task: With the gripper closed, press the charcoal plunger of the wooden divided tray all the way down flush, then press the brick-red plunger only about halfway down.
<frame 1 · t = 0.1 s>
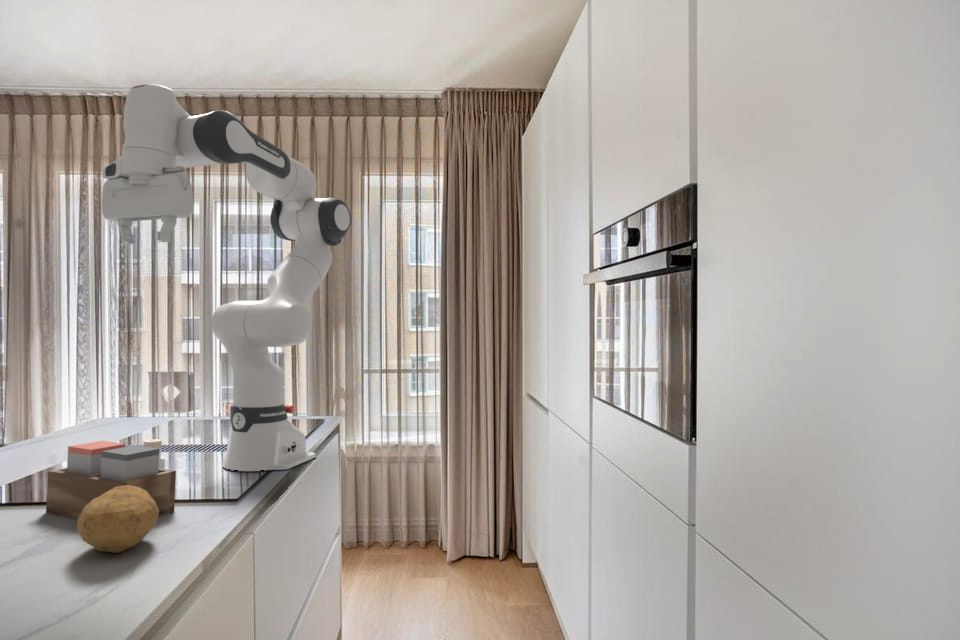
hand: (145, 242, 108), 48 cm above the counter, fingers open, 8 cm apart
red plunger: (96, 462, 100), point 8 cm above the counter, slide at 0.0 cm
potato: (117, 550, 82), on the counter
pepper shaker: (150, 490, 113), on the counter
wooden divided tray: (110, 511, 98), on the counter
charcoal plunger: (130, 467, 97), point 8 cm above the counter, slide at 0.0 cm
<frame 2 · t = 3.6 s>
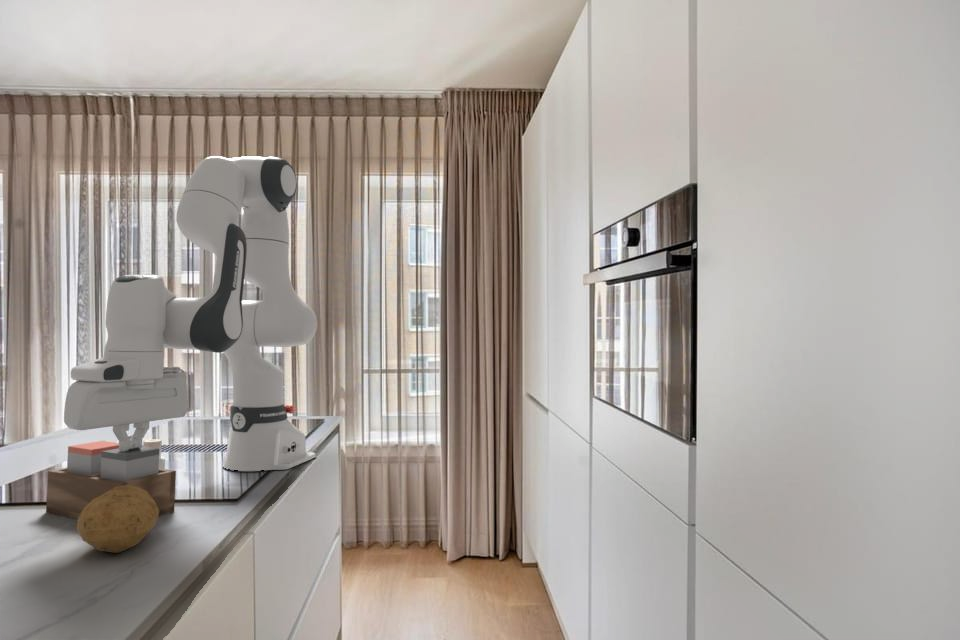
hand: (130, 449, 97), 11 cm above the counter, fingers closed, pressing on charcoal plunger
charcoal plunger: (130, 467, 97), point 8 cm above the counter, slide at 0.0 cm, touching gripper
everything else where it was.
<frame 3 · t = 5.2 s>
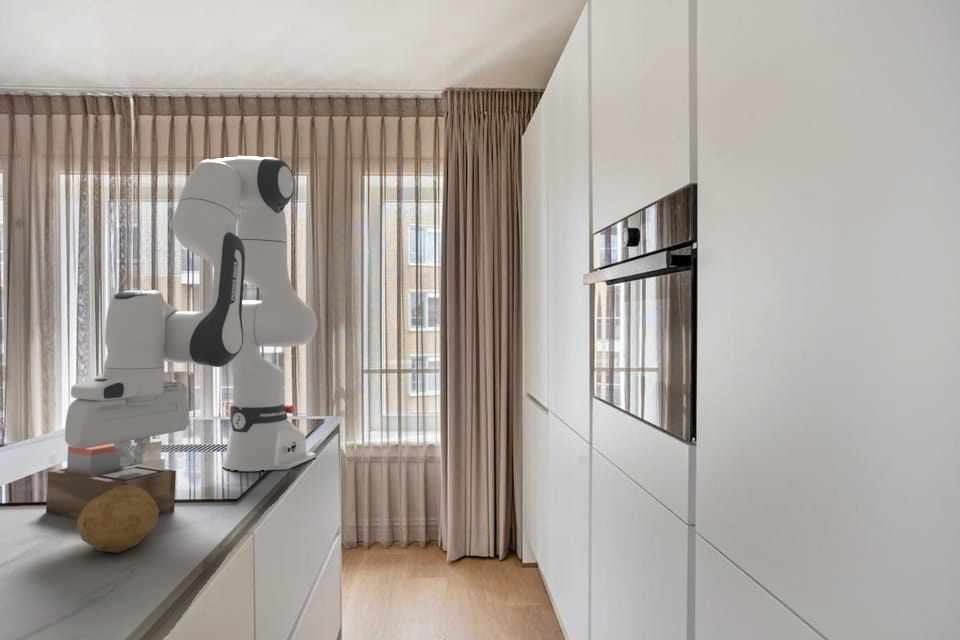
hand: (131, 465, 97), 8 cm above the counter, fingers closed
charcoal plunger: (129, 491, 97), point 4 cm above the counter, slide at 4.0 cm
everything else where it was.
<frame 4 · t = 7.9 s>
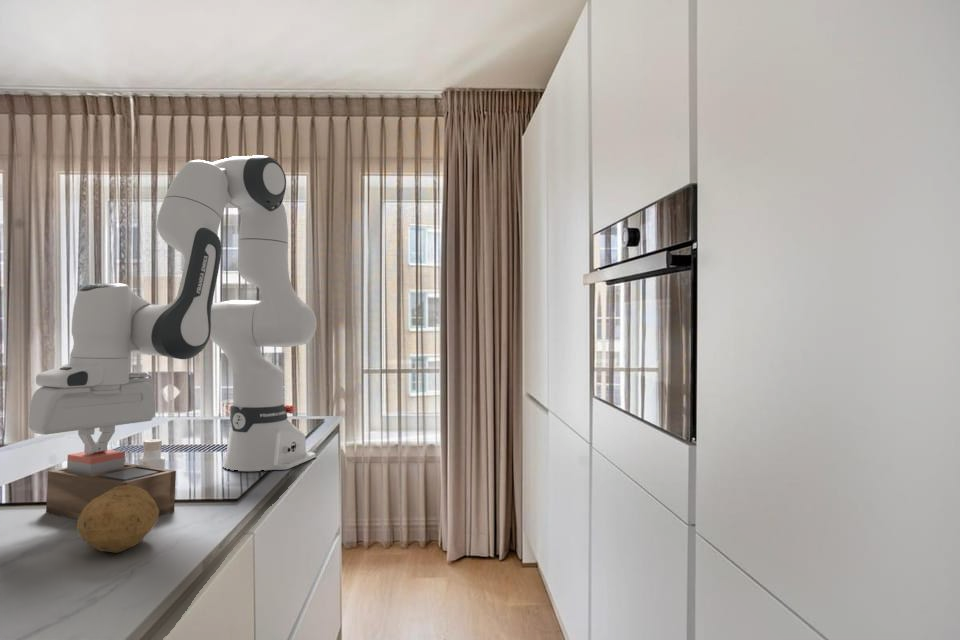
hand: (95, 453, 100), 10 cm above the counter, fingers closed, pressing on red plunger
red plunger: (96, 470, 100), point 7 cm above the counter, slide at 1.4 cm, touching gripper
everything else where it was.
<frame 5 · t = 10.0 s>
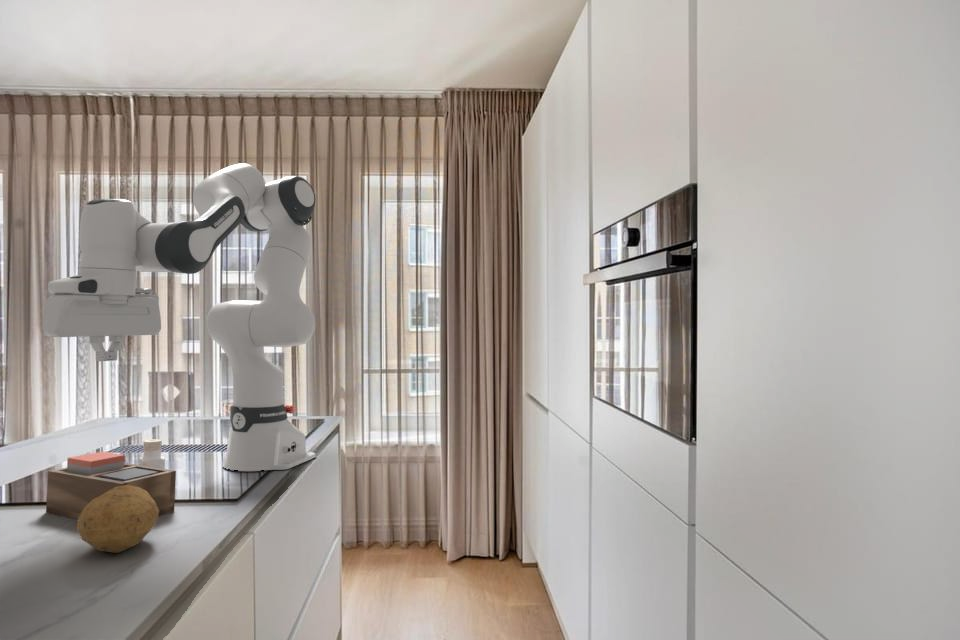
hand: (106, 361, 105), 25 cm above the counter, fingers closed
red plunger: (95, 473, 100), point 6 cm above the counter, slide at 2.0 cm
everything else where it was.
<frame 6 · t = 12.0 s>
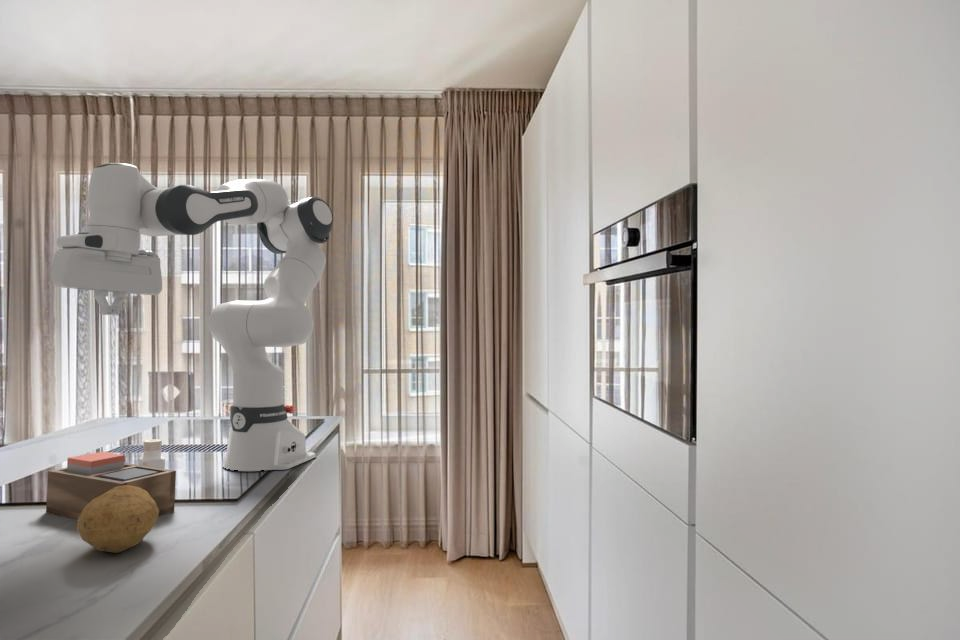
hand: (109, 315, 112), 34 cm above the counter, fingers closed
nothing on the counter moved.
at the end: charcoal plunger slide at 4.0 cm; red plunger slide at 2.0 cm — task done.
